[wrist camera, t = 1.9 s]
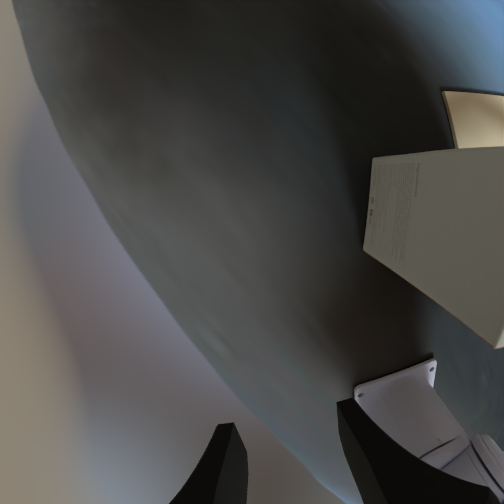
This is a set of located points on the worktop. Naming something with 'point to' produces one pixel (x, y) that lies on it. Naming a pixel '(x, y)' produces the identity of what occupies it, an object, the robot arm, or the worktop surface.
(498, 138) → the board
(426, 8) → the worktop surface
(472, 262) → the small box
